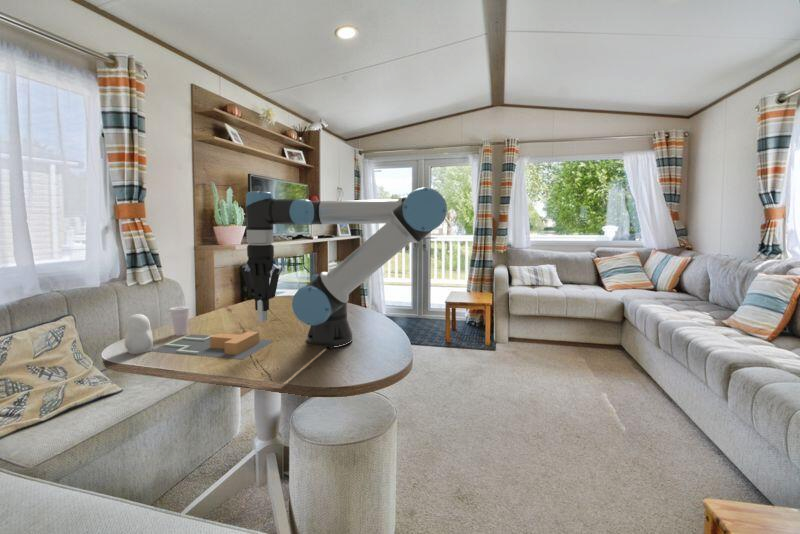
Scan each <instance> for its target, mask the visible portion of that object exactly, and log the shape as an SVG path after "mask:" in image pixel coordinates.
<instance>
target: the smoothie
mask: <svg viewBox="0 0 800 534" xmlns="http://www.w3.org/2000/svg"><path fill="white" fill-rule="evenodd" d="M178 298H179V306H173V307H170V308H169V310H168V311H169V312H168V313H170V318H171V320H172V321H171V323H172V326H173V330H174V336H176V337H181V336H182V337H183V336H185V335H188V325H189V315H190V310H191V307H190V306H189V305H182V303H183V302H182V295H179V297H178Z"/></svg>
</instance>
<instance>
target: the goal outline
mask: <svg viewBox="0 0 800 534" xmlns="http://www.w3.org/2000/svg"><path fill="white" fill-rule="evenodd" d="M213 335H214V334H212V335H208V336H209V337H207V338H204V339H203V338H190V337H186V336H182V337H179V338H177V339H174V340H171V341H170V342H166V343H164V344H163V345H164V346H167V347H179V348H181V349H179V350H176V352H178V353H189V354H199V351H189V350H186V349H188V348H190V346H189V345H176V344H174V343H176V342H179V341H181V340H195V341H206V340H209V339H210V337H211V336H213Z"/></svg>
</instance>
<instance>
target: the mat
mask: <svg viewBox="0 0 800 534" xmlns="http://www.w3.org/2000/svg"><path fill="white" fill-rule="evenodd" d="M209 336H210V335H206V334H195V333H192V334H189V335H188V334H187V336H185V337H190V338H203V339H204V338H207V337H209ZM275 341H276V340H274V339H260V338H259V343H257V344H256V345H254V346H252V347H250V348H248V349H247V350H245V351H243V352H241V353H239V354H238V355H232V354H225V349H220V348H210V339H209V340H206V341H195V340H181V341H179V342H176V343H174V344H176V345H189V346H190V348H188V349H186V350H189V351H199V354H189V353H178V352H176V350H179V349H181V348H179V347H167V346H164V344H162V345H160V346H158V347H155V348H152V350H150V351H148V352H147V353H163V354H172V355H173V354H174V355H182V356H183V355H184V356H185V355H186V356H195V357H196V356H197V357H206V358H207V357H208V358H217V359H218V358H220V359H231V360H244V359H246V358H248V357H250V356H251V355H253V354H255V353H257V352H258V351H260V350H262V349H264V348H266V346H269V345H271V344H272V343H274V342H275Z"/></svg>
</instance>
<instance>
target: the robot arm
mask: <svg viewBox="0 0 800 534" xmlns="http://www.w3.org/2000/svg"><path fill="white" fill-rule="evenodd" d="M244 206H245V214H246V216H245V217H246V218H245V219H246V243H247V245H246V250H247V253H246V255H247V258H248V259H247V261H246V264H245V265H243V266H240V268H239V270H240V272H241V273H242V275H243V278H244V279H243V280H244V283H245V287H246V292H247V295H248V298H249V299H253V301H254V307H255V309H254V310H255V311H257V322H258V323H263V322H265V321H268V311H269V310H270V300H271V299H273V298H275V297H276V294H277V288H278V284H279V279H280V274H281V273H282V271H283V268H282V267H280V266H278V265H276V262H275V261H274V256H275V249H274V248H275V247H274V245H273V243H274V225H284V226H285V225H286V226H287V225H289V226H290V225H291V226H311V225H312V226H313V225H355V224H356V225H357V224H358V225H364V224H365V225H367V224H370V225H371V224H375V225H376V224H384V225H383V226H382V227H380V228H379V229H378V230H377V231H376V232H375V233H373V234H372V235H371V236H370V237H369V238H368V239H366V240H365V241H364V242H363V243H362V244H361V245H359V246H358V247H357V248H355V250H354V251H352V252H351V253H350V254H349V255H348V256H347V257H345V259H344V260H342V261H340V263H338V265H336V266H335V267H334V268H333V269H332V270H330V271H321V272H320V273H318V274H312V275H311V279H310V282H309V283H308V284H307V285H305V286H302V287H301V288H299V289H298V290H297V291H296V293H294V295H293V298H292V301H291V303H292V306H291V307H292V311H293V314H294V315H295V317H296V318H297V320H298V321H300V322H301V323H303V324H305V325H308V326H309V329H308V333H307V336H306V338H307V339H306V341H307V343H309V345H310V344H311V345H313V346H317V347H318V346H320V347H334V346H339V345H343V344H346V343H348V342H350V341H351V340H352V341H353V332H352V330H351V327H350V323H349V320H348V302H349V300H350V299H349V297H350V296H349V295H350V294H351V293H352V292H353V291H354V290H355V289H357V288H358V287H360V285H362V284H363V283H364V282H365V281H366V280H367V279H368V278H370V277H371V276H373V274H374V273H376V272H377V271H378V270H379V269H380V268H382V267H383V266H384V265H385V264H386V263H388V261H390V260H391V259H392V258H394V256H396V255H397V254H398V253H399V252H401V250H403V249H404V248H405V247H407V246H408V245H409V244H411V243H417V244H418V243H419V242H421V241H422V240H423V239H424V238H425V237H427V236H428V235H429V234H430V233H432V232H433V231H434V230H435V229H437V228H439V227H440V226H441V225H442V224H443V222H444V221H445V219H446V216H447V213H448V206H447V202H446V199H445V198H444V197H443V195H442V194H441V193H440V192H439V191H438V190H436V189H434V188H431V187H426V186H425V187H419V188H416V189H413V190H412V191H410V192H409V193H408V194H407V195H401V196H400V197H399V198H398V199H361V200H360V199H359V200H357V199H356V200H354V199H353V200H350V199H349V200H315V201H313V200H309V199H303V198H281V199H279V198H274V196H273V193H272V192H269V191H256V190H255V191H254V190H253V191H252V190H251V191H248V192H247V193H246V194H245V205H244ZM271 272H272V273H271Z"/></svg>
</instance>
